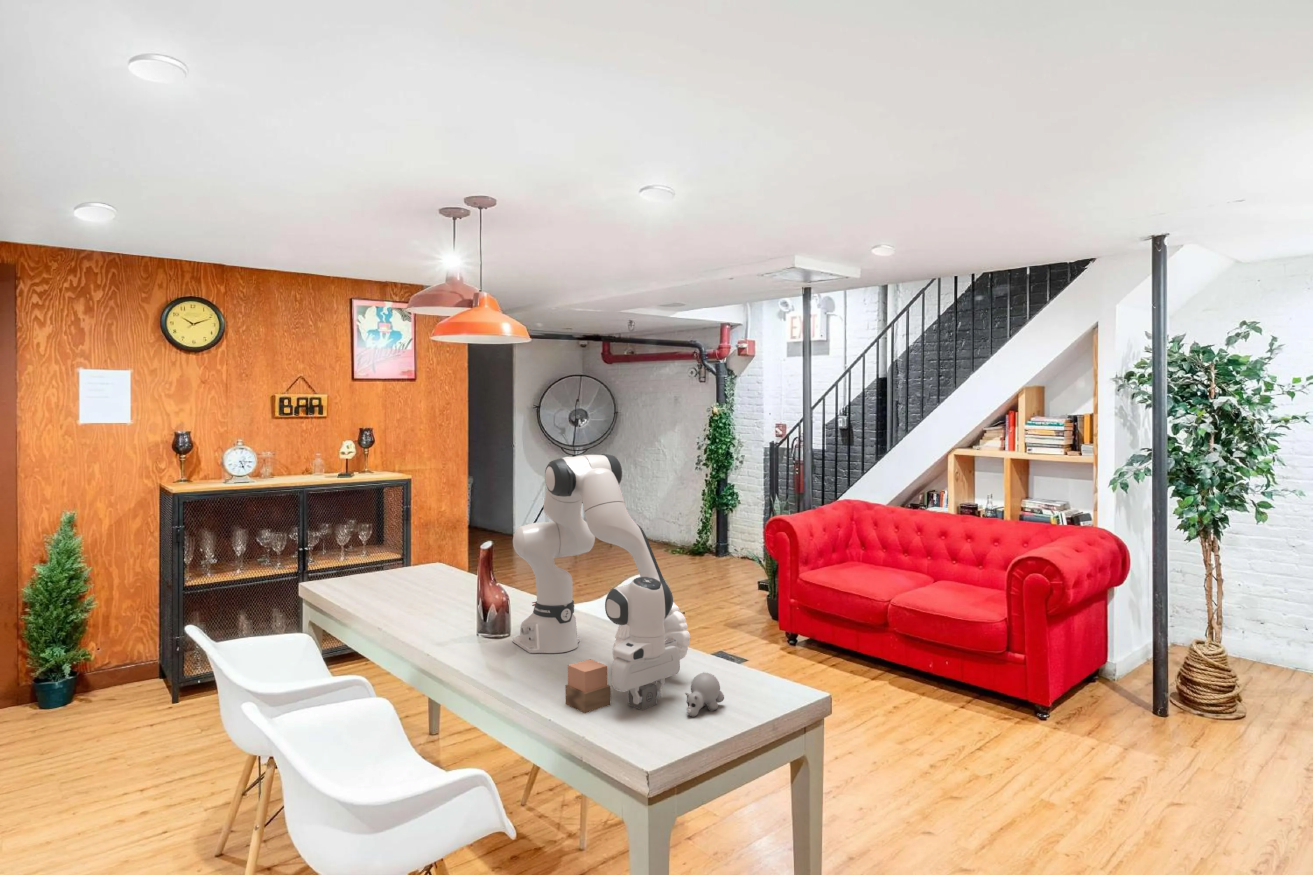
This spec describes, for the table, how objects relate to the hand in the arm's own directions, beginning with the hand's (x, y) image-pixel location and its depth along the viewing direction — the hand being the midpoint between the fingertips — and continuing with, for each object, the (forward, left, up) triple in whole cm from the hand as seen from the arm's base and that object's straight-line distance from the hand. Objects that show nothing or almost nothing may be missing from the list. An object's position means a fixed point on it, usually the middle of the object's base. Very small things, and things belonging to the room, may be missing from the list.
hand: (647, 699), depth 189 cm
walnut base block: (-11, -10, -2) cm, 15 cm away
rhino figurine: (+11, +8, -2) cm, 14 cm away
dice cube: (-2, 0, -2) cm, 3 cm away
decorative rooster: (-16, +16, -2) cm, 23 cm away
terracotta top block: (-11, -10, +3) cm, 15 cm away
